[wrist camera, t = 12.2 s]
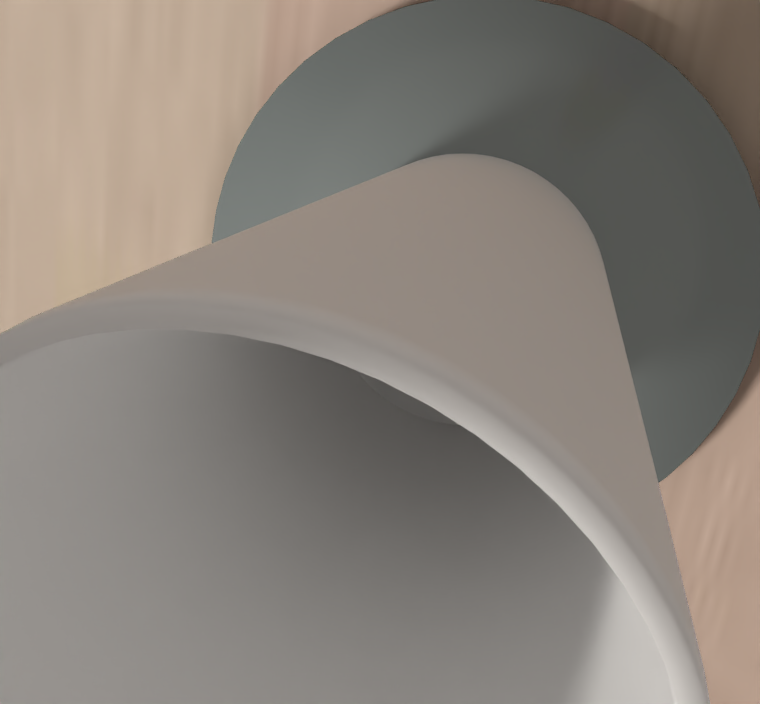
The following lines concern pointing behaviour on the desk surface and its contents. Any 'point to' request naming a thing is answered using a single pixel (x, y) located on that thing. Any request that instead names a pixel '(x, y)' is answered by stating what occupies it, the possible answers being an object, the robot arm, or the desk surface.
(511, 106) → the coaster
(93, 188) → the desk surface
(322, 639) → the cup
